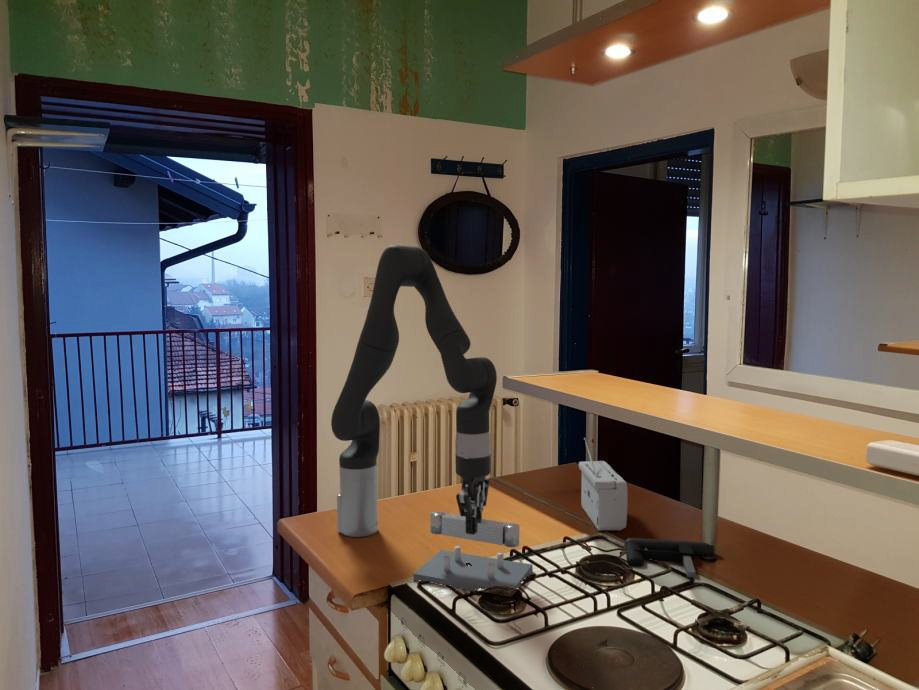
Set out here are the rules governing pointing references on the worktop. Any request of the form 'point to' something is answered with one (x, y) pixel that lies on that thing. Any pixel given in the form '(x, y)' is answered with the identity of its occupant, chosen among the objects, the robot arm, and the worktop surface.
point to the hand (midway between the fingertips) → (473, 530)
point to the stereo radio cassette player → (603, 495)
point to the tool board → (472, 571)
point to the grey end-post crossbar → (484, 529)
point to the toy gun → (666, 552)
